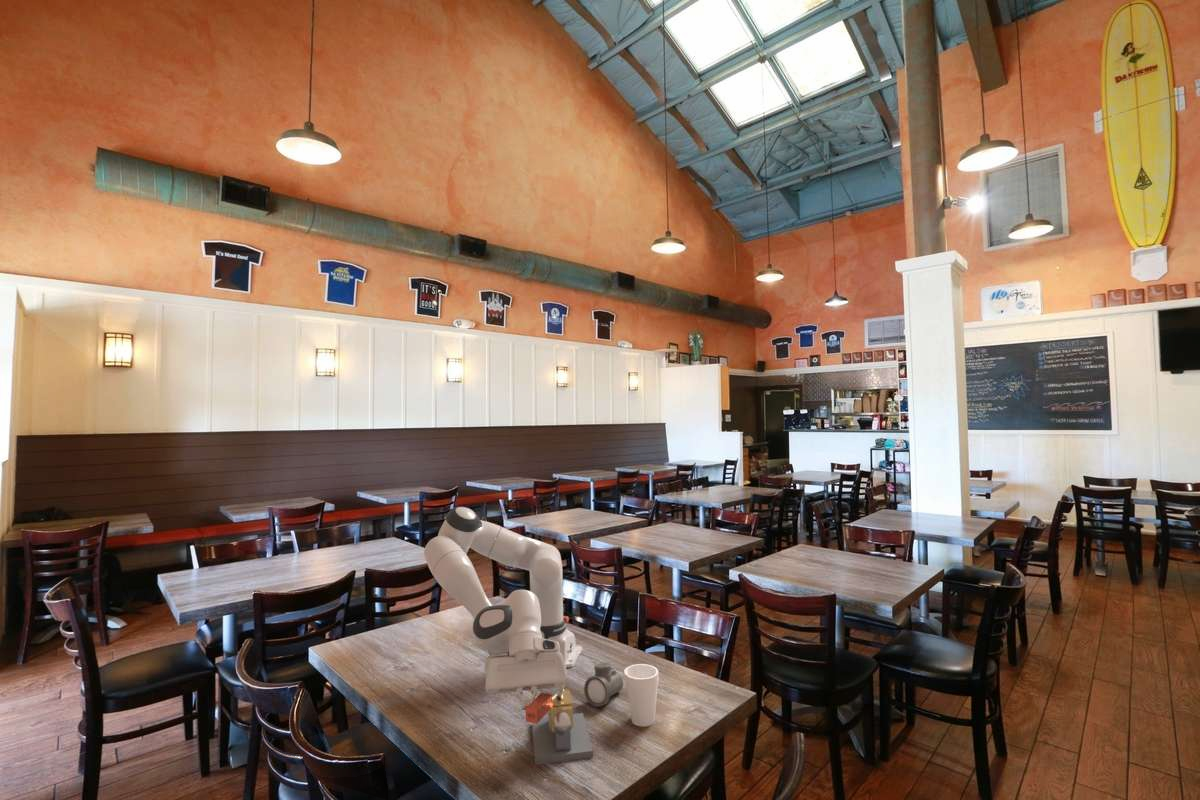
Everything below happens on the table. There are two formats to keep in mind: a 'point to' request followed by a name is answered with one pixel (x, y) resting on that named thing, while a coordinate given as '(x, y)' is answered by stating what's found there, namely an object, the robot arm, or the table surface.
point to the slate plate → (546, 742)
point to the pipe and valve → (562, 720)
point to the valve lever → (541, 705)
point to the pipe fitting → (602, 684)
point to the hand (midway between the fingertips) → (527, 708)
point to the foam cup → (642, 693)
